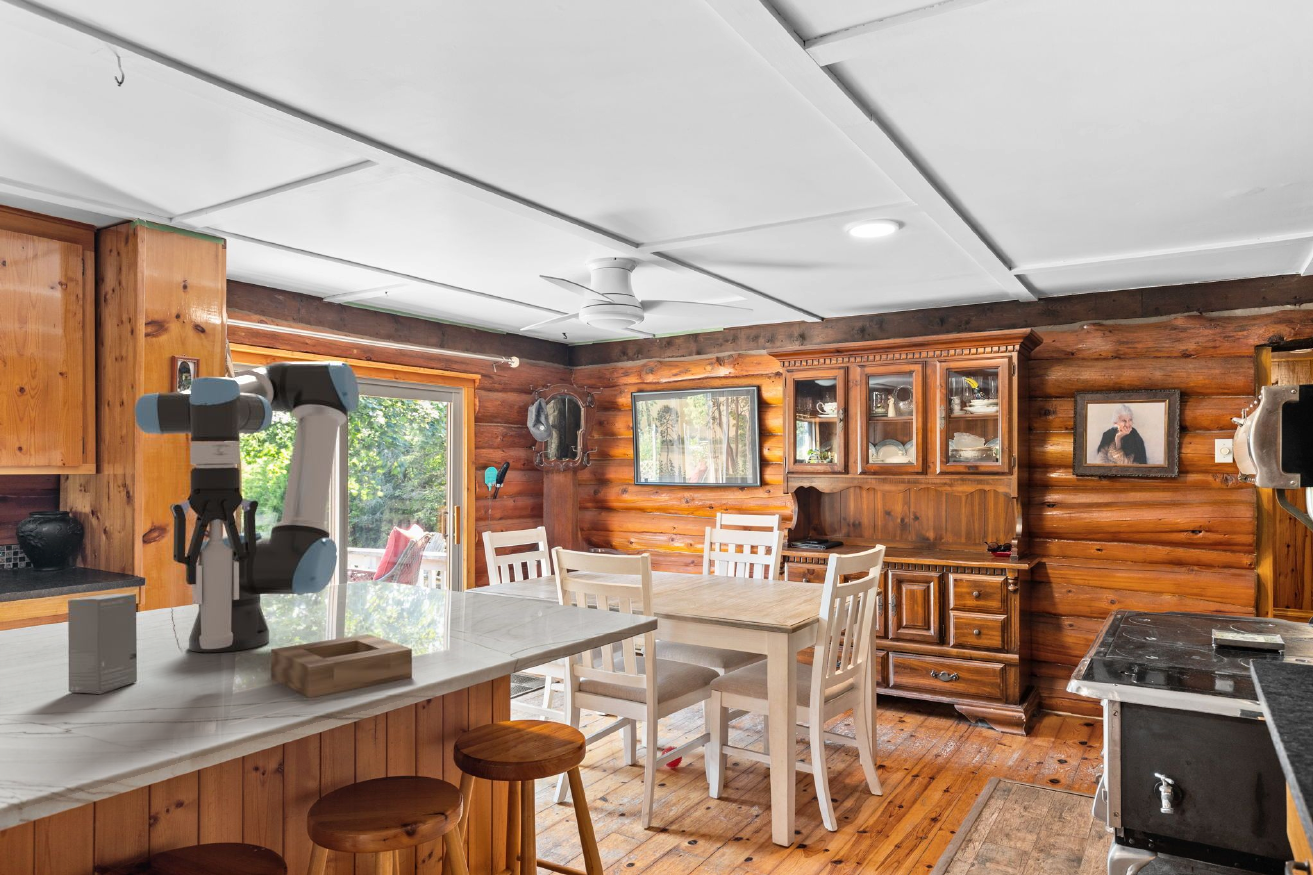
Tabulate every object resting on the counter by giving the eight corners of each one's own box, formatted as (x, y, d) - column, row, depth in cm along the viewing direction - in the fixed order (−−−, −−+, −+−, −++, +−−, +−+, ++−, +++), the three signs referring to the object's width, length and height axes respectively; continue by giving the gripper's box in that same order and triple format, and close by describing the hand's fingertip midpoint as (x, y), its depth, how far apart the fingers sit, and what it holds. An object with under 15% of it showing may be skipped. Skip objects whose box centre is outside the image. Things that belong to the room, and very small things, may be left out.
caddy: (270, 677, 148) (271, 649, 149) (368, 659, 161) (368, 633, 161) (309, 697, 135) (309, 666, 135) (412, 677, 148) (411, 648, 148)
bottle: (239, 643, 145) (239, 500, 145) (212, 650, 140) (212, 502, 140) (219, 640, 147) (218, 500, 147) (192, 647, 142) (191, 502, 143)
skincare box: (99, 695, 138) (99, 599, 138) (63, 693, 139) (64, 598, 140) (140, 681, 146) (141, 591, 147) (106, 680, 148) (106, 590, 148)
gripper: (161, 468, 135) (161, 611, 135) (277, 465, 147) (278, 596, 147) (149, 467, 140) (150, 605, 140) (263, 464, 153) (263, 591, 153)
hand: (216, 600), depth 144 cm, fingers closed on bottle, 5 cm apart
